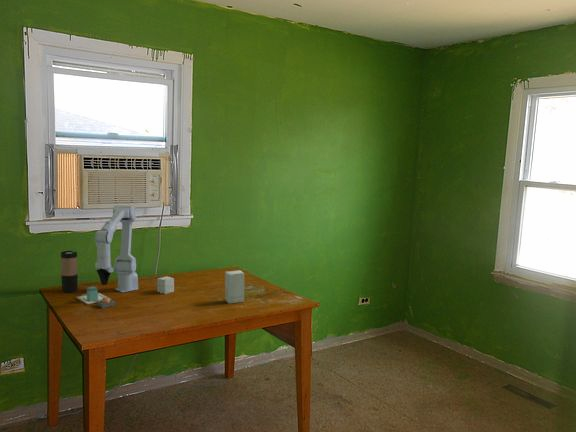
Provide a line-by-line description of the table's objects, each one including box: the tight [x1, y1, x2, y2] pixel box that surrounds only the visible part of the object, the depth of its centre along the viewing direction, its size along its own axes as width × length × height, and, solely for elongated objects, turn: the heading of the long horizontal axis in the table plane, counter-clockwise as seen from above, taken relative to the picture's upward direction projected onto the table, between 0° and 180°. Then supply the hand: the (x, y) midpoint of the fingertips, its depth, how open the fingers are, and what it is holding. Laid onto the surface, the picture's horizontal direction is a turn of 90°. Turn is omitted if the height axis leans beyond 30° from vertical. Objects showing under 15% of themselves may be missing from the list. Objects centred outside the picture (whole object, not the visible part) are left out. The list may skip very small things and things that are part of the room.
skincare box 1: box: [157, 276, 175, 295], centre depth 251 cm, size 6×6×7 cm
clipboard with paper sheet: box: [74, 292, 114, 306], centre depth 235 cm, size 12×15×1 cm
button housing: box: [96, 298, 116, 309], centre depth 226 cm, size 6×6×2 cm
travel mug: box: [60, 250, 79, 294], centre depth 247 cm, size 8×8×20 cm
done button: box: [102, 296, 111, 303], centre depth 226 cm, size 4×4×3 cm
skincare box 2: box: [224, 269, 245, 304], centre depth 238 cm, size 8×6×15 cm
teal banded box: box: [86, 285, 99, 301], centre depth 232 cm, size 4×4×6 cm
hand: (104, 284), depth 228 cm, fingers closed
